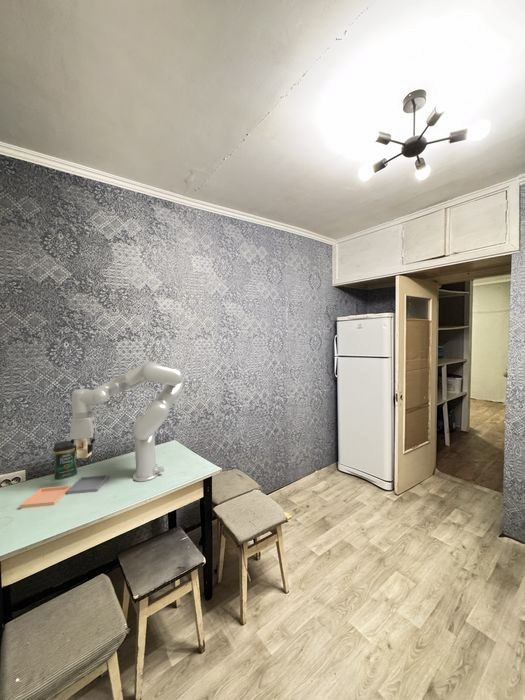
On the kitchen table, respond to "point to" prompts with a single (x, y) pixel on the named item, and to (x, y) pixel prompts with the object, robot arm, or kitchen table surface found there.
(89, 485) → the charcoal tray
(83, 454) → the notched wooden block
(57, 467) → the coffee jar
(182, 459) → the kitchen table surface
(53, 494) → the terracotta dish
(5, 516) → the kitchen table surface
